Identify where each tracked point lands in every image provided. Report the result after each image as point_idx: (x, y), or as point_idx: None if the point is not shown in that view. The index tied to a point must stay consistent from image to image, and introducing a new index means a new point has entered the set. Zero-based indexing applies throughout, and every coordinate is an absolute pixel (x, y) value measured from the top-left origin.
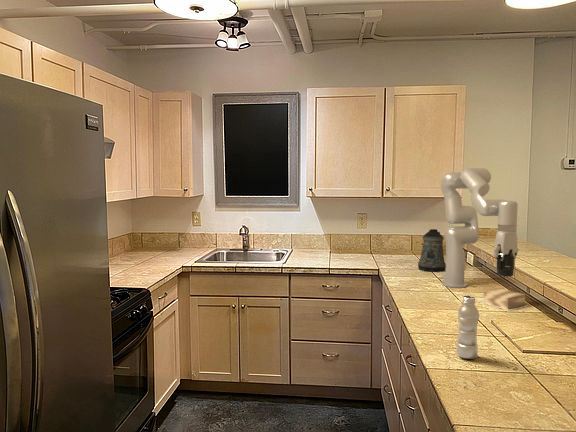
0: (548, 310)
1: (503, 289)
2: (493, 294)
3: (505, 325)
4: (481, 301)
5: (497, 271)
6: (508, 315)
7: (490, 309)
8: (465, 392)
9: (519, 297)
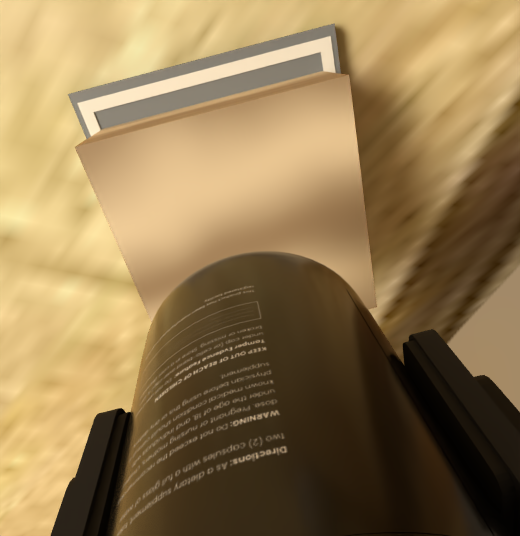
0: (424, 328)
1: (342, 116)
2: (119, 246)
3: (21, 463)
4: (103, 89)
5: (144, 351)
6: (135, 356)
7: (93, 239)
8: None
9: None
